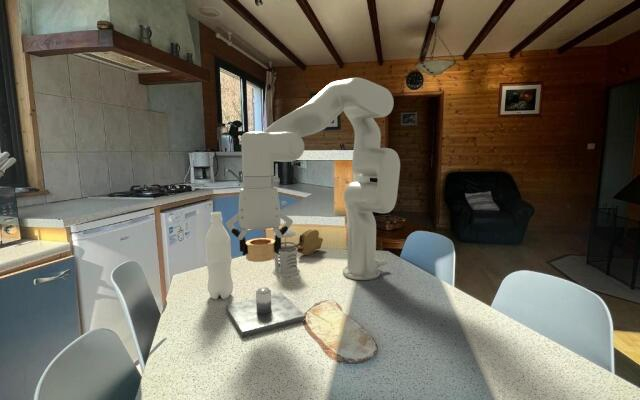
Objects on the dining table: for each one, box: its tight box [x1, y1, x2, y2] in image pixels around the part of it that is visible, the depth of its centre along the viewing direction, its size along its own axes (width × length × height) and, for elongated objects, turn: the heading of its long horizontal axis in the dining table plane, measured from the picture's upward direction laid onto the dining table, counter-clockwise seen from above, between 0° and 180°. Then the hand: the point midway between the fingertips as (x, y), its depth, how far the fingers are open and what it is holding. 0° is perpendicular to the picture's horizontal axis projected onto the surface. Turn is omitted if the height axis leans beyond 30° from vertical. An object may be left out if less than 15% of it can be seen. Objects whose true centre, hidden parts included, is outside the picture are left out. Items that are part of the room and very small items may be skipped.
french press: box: [272, 200, 301, 277], centre depth 121 cm, size 10×12×25 cm
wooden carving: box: [295, 229, 324, 256], centre depth 143 cm, size 16×5×10 cm, turn 150°
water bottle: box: [204, 211, 234, 300], centre depth 102 cm, size 7×7×25 cm
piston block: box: [225, 286, 306, 339], centre depth 91 cm, size 16×16×7 cm
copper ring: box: [245, 237, 276, 263], centre depth 88 cm, size 7×7×4 cm
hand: (260, 252), depth 88 cm, fingers closed on copper ring, 7 cm apart
